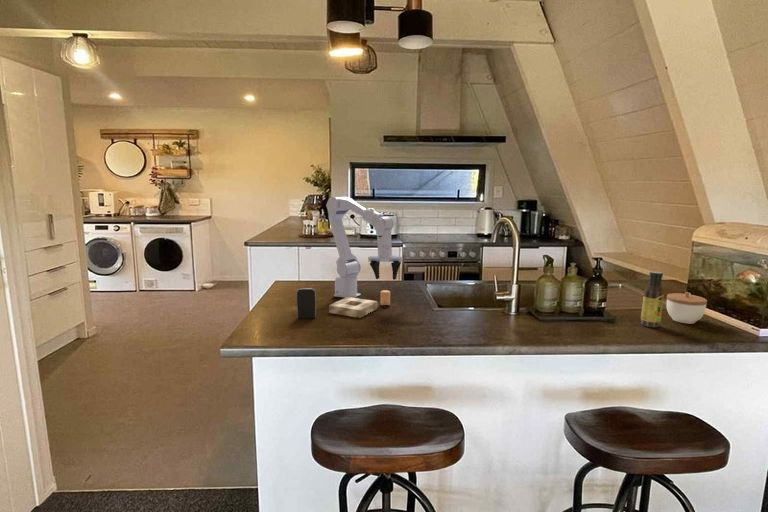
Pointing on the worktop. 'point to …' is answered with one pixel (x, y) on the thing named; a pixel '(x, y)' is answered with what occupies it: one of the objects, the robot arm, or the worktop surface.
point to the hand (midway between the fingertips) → (386, 278)
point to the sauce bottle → (652, 301)
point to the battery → (306, 303)
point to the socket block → (353, 307)
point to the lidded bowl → (685, 307)
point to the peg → (385, 297)
